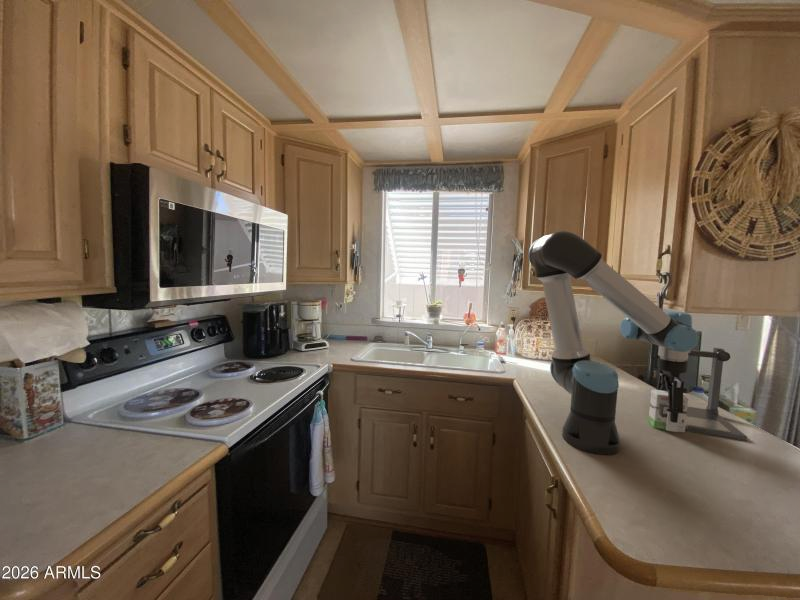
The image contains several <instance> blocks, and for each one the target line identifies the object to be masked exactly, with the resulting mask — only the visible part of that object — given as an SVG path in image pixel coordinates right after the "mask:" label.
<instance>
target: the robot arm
mask: <svg viewBox="0 0 800 600" xmlns="http://www.w3.org/2000/svg"><path fill="white" fill-rule="evenodd" d="M603 257H604V256H603V254H602V253H601V252H600V251H599V250H597V249H596V248H595V247H594V246H593V245H591V244H590V243H589V242H587V241H586V240H585V239H584V238H582V237H581V236H579V235H577V234H575V233H573V232H571V231H567V230H559V231H556V232H552V233H551V234H546V235H543V236H541V237H539V238H537V239H536V240H534V242H532V244H531V245H530V247H529V251H528V260H529V262H530V264H531V266H532V267H533V268H534V270H535V271H534V272H535V277H536V279H537V280H539V281H541V284H542V288H543V293H544V297H545V298H544V299H545V304H546V308H547V312H548V314H547V315H548V319H549V324H550V329H551V336H552V340H553V346H554V350H553V351H552V352H551V360H552V361H551V362H550V365H549V366H550V369H549V371H550V374H551V377H552V378H553V380H554V381H555V382H556V384H557V385H558V386H560V387H561V388H563V389H564V390H565V391H566V392H567V393H568V394H570V407H569V408H570V409H569V410H570V411H569V412H568V413H569V414H568V415H567V417H566V420H565V422H564V424H563V426H562V431H561V432H562V433H561V435H562V437H563V440H565V441H566V442H567V443H568V444H570V445H571V446H573V447H575V448H577V449H579V450H582V451H585V452H588V453H591V454H597V455H614V454H615V455H616V454H618V453H619V452H620V451H621V438H620V435H619V431H618V429H617V423H616V411H617V401H618V388H619V375H618V372H617V371H616V370H615V368H613V367H612V366H609V365H607V364H605V363H601V362H599V361H594V360H591V359H592V358H591V354H590V351H589V349H587V348H586V347H584V345H583V340H582V335H581V329H580V323H579V318H578V312H577V307H576V301H575V297H574V296H575V295H574V291H573V290H574V289H573V285H572V280H571V277H572V278H574V279H575V280H582V282H584V283H585V284H586V285H588V286H589V287H590V288H591V289H592V290H594V291H595V292H596V293H598V294H599V295H600V296H601V297H602V298H603V299H604V300H606V301H607V302H608V303H609V304H611V306H613V307H614V308H615V309H616V310H618V311H619V312H620V313H621V314H622V315H624V316H625V317H624V318H623V319H622V320H621V322H620V333H621V335H622V337H623V338H624V339H627V340H633V341H643V342H646V343H649V344H652V345H656V346H658V352H657V356H659V357H658V358H657V362H656V363H657V369H659V370H658V380H657V386H656V390H662V391H668V398H669V409H666V410H667V411H668V413H667V423H666V430H665V431H668V432H674V433H678V431H677V430H678V420H679V413H683V395H684V386H685V382H684V381H682V379H681V377H680V374H686V373H687V371H688V365H689V364H688V363H689V362H688V361H687V360H689V356H688V353H690V352H691V351H690V350H694V348H695V347H697V344H698V342H699V336H698V332H697V331H696V330H695V328H693V324H692V323H693V322H692V321H693V319H692V315H691V314H689V313H688V312H681V311H665V310H663V309H662V308H661V307H660V306H658V304H656V303H655V302H653V301H652V300H651V299H650V298H648V297H647V296H646V295H645V294H643V293H642V292H641V291H640V290H639V289H638V288H637V287H635V286H634V285H633V284H632V283H631V282H629V280H627V279H626V278H625V277H624V276H622V275H621V274H620V273H619V272H617V270H615V269H614V268H613V267H611V266H610V265H609V264H608V263H607V262H606V261H604V258H603ZM676 408H677V409H676Z"/></svg>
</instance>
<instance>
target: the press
mask: <svg viewBox="0 0 800 600" xmlns="http://www.w3.org/2000/svg"><path fill="white" fill-rule="evenodd" d="M718 350H723V351H725V349H723V348H720V347H719V348H718V347H713V350H712V352H716V351H718ZM711 359H712V360H711V369H710V379H709V388H708V395H707V396H708V399H707V406H706V407H705V408H701V407H692V406H687V415H686V424H685V431H687V432H691V433H692V432H693V433H697V434H704V435H709V436H715V437H719V438H720V437H721V438H728V439H732V440H739V441H745V442H746V441H747V438H748V436H747V435H746V434H745V433H743V432H742V431H741V430H739V429H738V428H736V426H734V425H733V424H732V423H730V421H728V420H726V419H725V418H724V417H723V416H721V415H720V414H719V410H718V409H719V402H720V401H719V400H720V394H721V392H720V391H721V384H722V375H723V367H724V366H723V365H724V361H720V360H718V359H716V358H711Z"/></svg>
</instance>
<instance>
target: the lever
mask: <svg viewBox="0 0 800 600" xmlns="http://www.w3.org/2000/svg"><path fill="white" fill-rule="evenodd" d="M690 351H691V352H690V353H688V357H689V356H690V357H691V356H692V357H698V358H699V357H700V358H702V357H703V358H710V359H713V358H716V359H718V360H720V361H723V362H728V361H730V359H731V354H730V353H729V352H727V351H725V350H724V351H723V350H718V351H716V352H713V351H709V350H708V351H707V350H706V351H705V350H695V349H691V350H690Z"/></svg>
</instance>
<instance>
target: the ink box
mask: <svg viewBox="0 0 800 600" xmlns="http://www.w3.org/2000/svg"><path fill="white" fill-rule="evenodd" d="M688 405H689V397H687V396H685V395H684V394H683V413H679V420H678V430H677V433H678V432H679V433H685V432H686V429H685V424H686V415H687V407H689V406H688ZM666 409H669V398H668V391H662V390H657V389H651V392H650V401H649V413H648V423H649V424H650V425H651V426H652V427H653V428H654V429H659V430H665V431H667V430H666V423H667V413H668V411H667V410H666ZM676 409H677V408H676Z"/></svg>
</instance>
